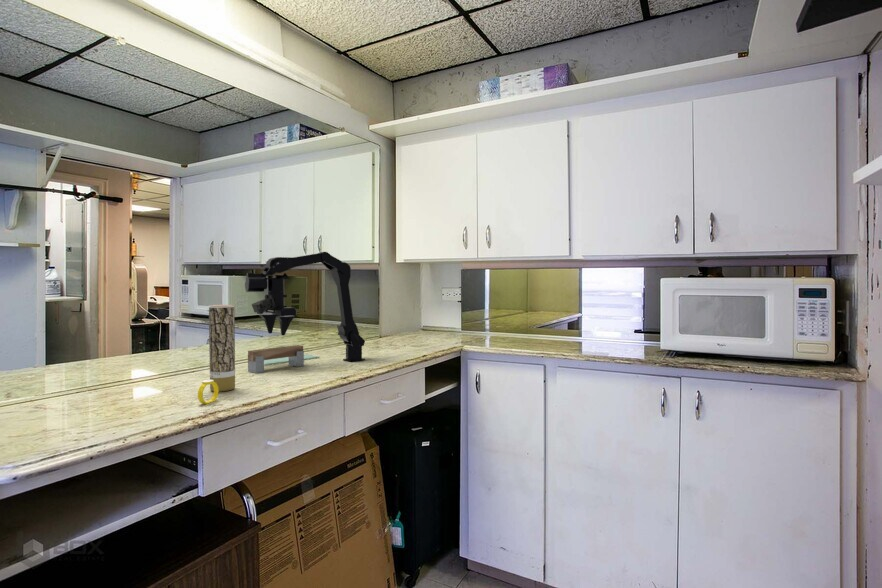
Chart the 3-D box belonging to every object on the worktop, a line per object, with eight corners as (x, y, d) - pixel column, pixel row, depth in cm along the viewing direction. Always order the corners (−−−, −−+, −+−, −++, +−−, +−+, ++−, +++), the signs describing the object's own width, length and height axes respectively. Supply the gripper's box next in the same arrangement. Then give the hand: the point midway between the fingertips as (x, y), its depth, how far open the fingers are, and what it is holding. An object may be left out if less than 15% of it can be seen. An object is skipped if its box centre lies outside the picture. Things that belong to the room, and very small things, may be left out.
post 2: (303, 365, 178) (303, 350, 178) (296, 367, 176) (296, 351, 176) (295, 364, 182) (295, 349, 182) (288, 365, 180) (288, 350, 179)
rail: (303, 354, 179) (303, 345, 179) (252, 361, 164) (252, 351, 164) (298, 354, 181) (298, 345, 181) (248, 360, 166) (247, 350, 166)
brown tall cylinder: (225, 392, 135) (224, 306, 135) (204, 391, 137) (203, 305, 136) (240, 387, 142) (239, 304, 141) (220, 386, 143) (219, 304, 143)
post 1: (264, 372, 166) (263, 355, 166) (255, 373, 164) (255, 356, 164) (256, 370, 170) (255, 354, 170) (247, 371, 168) (247, 355, 167)
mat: (319, 358, 196) (319, 356, 196) (265, 365, 178) (265, 364, 178) (307, 355, 202) (307, 354, 202) (253, 362, 184) (253, 361, 184)
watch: (204, 407, 121) (203, 384, 121) (195, 406, 122) (194, 383, 122) (221, 399, 127) (220, 378, 127) (213, 399, 128) (211, 377, 127)
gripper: (242, 291, 172) (243, 334, 173) (268, 292, 160) (268, 338, 160) (271, 291, 181) (271, 331, 181) (297, 292, 168) (297, 335, 169)
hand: (276, 334), depth 173 cm, fingers open, 9 cm apart
